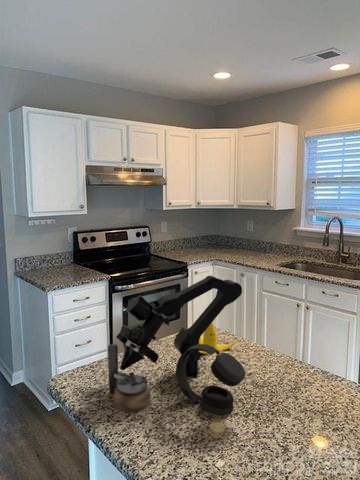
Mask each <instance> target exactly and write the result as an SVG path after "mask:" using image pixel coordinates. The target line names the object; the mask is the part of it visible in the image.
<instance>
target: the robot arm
mask: <svg viewBox="0 0 360 480" xmlns="http://www.w3.org/2000/svg"><path fill="white" fill-rule="evenodd" d="M213 289H215V290H217V291H216V293H215V297H214V298H213V299H212V300H211V302H210V303H209V304H208V305H207V307H206V308H204V310H203V312H202V313H201V314H200V315H199V316H198V318H197V319H196V320H195V321H194V323H193V324H192V325H191V326H189V327H188V328H186V329H185V328H184V327H182V328H181V329H180V330H179V331H178V333H177V334H175V335H174V337H175V338H174V340H173V345H174V348H175V349H176V350H177V351H178V352H179V354H180V356H181V355H182V354H183V353H184V352H185V351H187V350H188V349H189V348H190V347H192V346H194V345H197V344H199V340H200V337H201V335H202V336H203V335H204V331H205V330H206V329H207V328H208V327H209V325H210V324H211V323H212V322H213V323H214V321H215V320H216V318H217V317H218V316H219V315H220V314H221V312H223V310H224V308H226V306H228V305H230V304H233V303H234V302H236V301H237V300H238V299H239V298H240V297H241V295H242V293H243V288H242V286H241V284H240V283H238V282H236V281H233V280H232V279H224V280H223V279H220V278H217V277H215V276H213V275H207V276H205V278H202V279H201V280H199V281H197V282H196V283H193V284H191V285H189V286H187V287H186V288H184V289H182V290H180V291H177V292H174V293H167V294H165V295H163V296H160V297H159V298H158V299H156V300H152V301H147V300H146V299H145V298H144V297H143V296H142V295H141V294H140V295H138V296H137V297H135V298H133V299H132V300H131V301H130V302H129V303H128V305H127V306H126V312H127V313H128V314H130V315H131V316H132V317H134V318H135V319H136V320H138V322H139V321H143V322H142V324H141V325H139V324H138V325H136V327H135V326H134V327H131V326H128V325H123V324H122V326H121V329H120V331H119V333H117V335H116V336H115V338H116V339H117V340H118V341H120V342H121V343H122V345H123V348H124V354H123V357H122V360H121V363H120V365H119V369H120V370H121V371H125V370H126V369H128V368H130V367H131V366H133V365H134V364H136V363H139V362H140V361H141V360H145V357H146V358H148V359H149V361H150V362H152V363H153V364H156V363H157V362H158V360H159V353H158V352H156V351H154V350H153V349H152V347H149V345H150V343H151V342H152V340H154V341H156V339H157V337H156V334H157V333H158V332H159V330H160V328H161V327H162V326H163V325H166V326H170V322H169V317H173V316H174V315H175V314H176V313H178V312H179V311H180V310H182V308H183V307H184V306H185V305H187V303H189V302H191V301H193V300H194V299H195V300H196V299H197V298H198V297H200V296H202V295H204V294H205V293H208V292H209V291H211V290H213ZM194 350H196V349H193V350H189V351H188V352H187V353H186V354H185V356H184V359H183V362H184V360H185V358H186V356H187V355H188V354H189V353H190V352H192V351H194ZM201 357H202V353H200V352H199V351H196V352H193V353H191V354H190V355H189V357H188V360H187V363H186V375H187V377H190V378H191V377H192V378H198V376H199V373H200V365H199V364H200V363H199V361H200V360H201ZM183 362H182V365H183Z"/></svg>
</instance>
